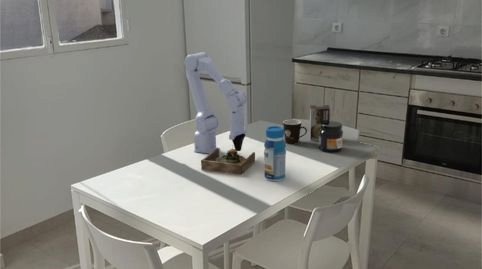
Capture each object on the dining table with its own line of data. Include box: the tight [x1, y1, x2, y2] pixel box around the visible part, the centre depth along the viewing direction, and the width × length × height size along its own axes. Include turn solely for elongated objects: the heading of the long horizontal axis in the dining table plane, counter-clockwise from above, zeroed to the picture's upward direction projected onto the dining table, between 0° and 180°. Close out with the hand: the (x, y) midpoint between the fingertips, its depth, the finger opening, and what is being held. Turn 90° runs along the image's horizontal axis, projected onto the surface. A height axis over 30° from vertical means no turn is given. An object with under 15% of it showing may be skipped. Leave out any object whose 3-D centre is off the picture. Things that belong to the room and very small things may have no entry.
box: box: [200, 148, 256, 176], centre depth 191 cm, size 18×16×4 cm
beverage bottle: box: [263, 125, 287, 182], centre depth 175 cm, size 8×8×20 cm
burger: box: [217, 145, 247, 165], centre depth 194 cm, size 12×12×8 cm
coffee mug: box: [282, 119, 308, 145], centre depth 215 cm, size 12×9×10 cm
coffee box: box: [309, 104, 331, 142], centre depth 220 cm, size 9×6×16 cm
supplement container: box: [318, 120, 344, 153], centre depth 206 cm, size 10×10×12 cm
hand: (238, 150), depth 200 cm, fingers closed
